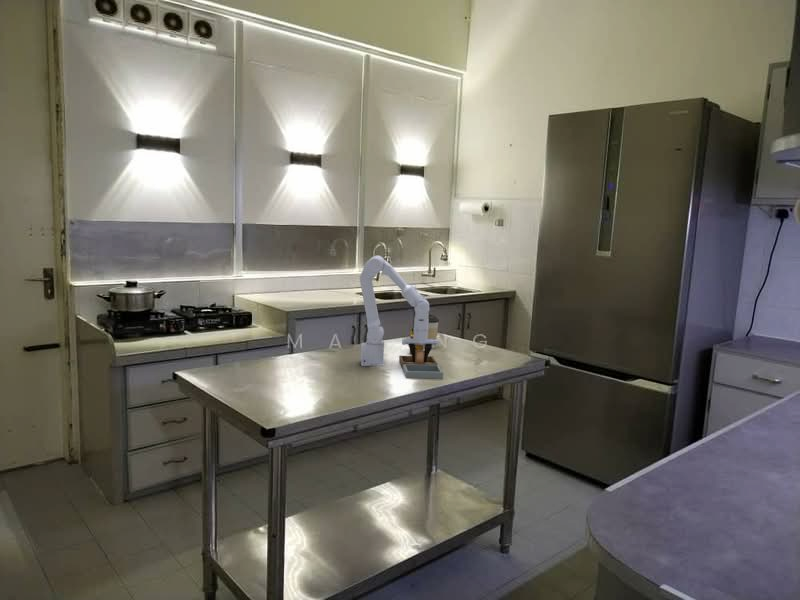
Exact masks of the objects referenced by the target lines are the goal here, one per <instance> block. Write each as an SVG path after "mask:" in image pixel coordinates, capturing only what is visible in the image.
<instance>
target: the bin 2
mask: <svg viewBox="0 0 800 600" xmlns="http://www.w3.org/2000/svg"><path fill="white" fill-rule="evenodd" d="M402 372H403V375H404V377H405V379H419V380H443V379H444V371H443V369H441V367H440V365H439V364H438V365H420V364H403V369H402Z"/></svg>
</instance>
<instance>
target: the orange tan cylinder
mask: <svg viewBox="0 0 800 600" xmlns="http://www.w3.org/2000/svg"><path fill="white" fill-rule="evenodd" d="M424 355H425V351H424V349H423V350H415V363H424Z"/></svg>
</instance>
